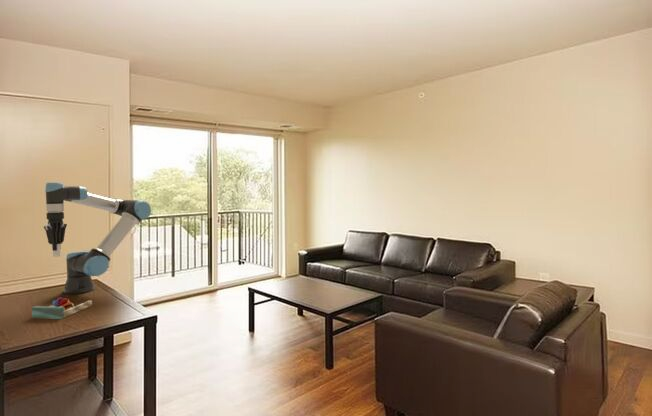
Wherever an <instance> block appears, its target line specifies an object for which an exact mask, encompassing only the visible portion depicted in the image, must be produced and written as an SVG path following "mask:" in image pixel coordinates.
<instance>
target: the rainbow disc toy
mask: <svg viewBox="0 0 652 416" xmlns="http://www.w3.org/2000/svg"><path fill="white" fill-rule="evenodd" d="M68 300H69V299H68V298H66V297H64V298H63V297H58V298H57V299H55V300H53V301H52V305H53V306H51V305H50V306H51V307H64V311H65V310H67V309H70V308H72V307H74V306H75V304H74V303H72V302H71V301H69V302H68ZM67 302H68V303H67Z"/></svg>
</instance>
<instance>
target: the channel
mask: <svg viewBox="0 0 652 416" xmlns="http://www.w3.org/2000/svg"><path fill="white" fill-rule="evenodd" d="M68 302H70V299H68ZM68 302H67V303H68ZM51 306H53V305H49V306H43V305H41V306H40V305H35V306H32V307H31V318H32V319H45V320H47V319H49V320H62V319H64V318H66V317H68V316H71V315H73V314H75V313H78V312H80V311H83V310H84V309H86V308H89V307H92V306H93V300H87V301H84V302H81V303H79V304H77V305H74V307H72V308H70V309H67V310H65V311H64V307H51Z"/></svg>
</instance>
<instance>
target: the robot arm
mask: <svg viewBox="0 0 652 416" xmlns="http://www.w3.org/2000/svg"><path fill="white" fill-rule="evenodd" d="M44 191H45V202H46V205H45V206H46V209H45V210H46V220H48V221H47V225H44V226H43V229H44V231H45V234H46V238H47V242H48V244H49V245H52V247H51V248H52V255H53V257H56V258H57V257H61V244H63V243H64V241H65V237H66V235H65V233H66V228H67V226H68V224H67V223H64V221H63V219H65V213H64V211H65V206H64V205H65V204H64V201H66V202H70V203H75V204H78V205H83V206H87V207H92V208H95V209H98V210H99V209H100V210H103V211H107V212H109V213H110V214H113V215H117V216H120V219H119V220H118V222H116V224H115V225H114V226H112V227H113V228H111V230H110V231H109V232H108V233H107V234H106V235H105V237H104V238H103V239H102V241H101V242H100V243H99V244H98V245H97V247H93V248H91V250H83V251H75V252H69V253H67V254H66V259H65V261H66V281H65V284H64V287H63V293H64V294H82V293H87V292H90V291H94V290H95V284H94V281H93V278H92V277H99V276H101V275H103V274H105V273H106V272H107V270H108V269H109V267H110V265H109V264H110V261H111V255H112V254H113V253H114V251H116V249H117V248H118V247H119V245H120V244H121V243H122V242H123V240H124V239H125V238H126V237H127V235H128V234H130V232H131V230H132V229H133V228H134V227H135V226H137V225H139V224H140V223H141V222H142V221H143V220H146V219H148V218H149V217H150V216H151V214H152V213H151V212H152V208H151V205H150V204H149V202H147V201H146V200H142V199H135V200H134V199H119V198H108V197H104V196H101V195H97V194H92V193H90V192H88V189H87V188H86V187H85V186H80V185H78V186H77V185H76V186H71V185H70V186H64V183H63V182H47V183H45V190H44Z"/></svg>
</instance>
